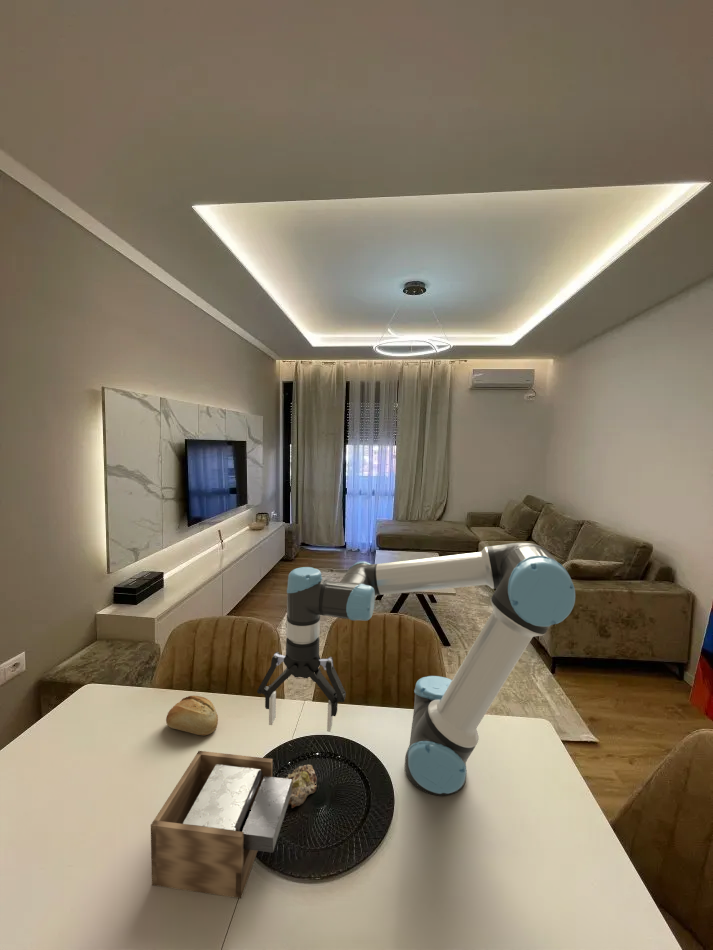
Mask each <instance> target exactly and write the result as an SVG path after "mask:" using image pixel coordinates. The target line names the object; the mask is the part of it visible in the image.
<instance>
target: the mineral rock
mask: <svg viewBox="0 0 713 950" xmlns="http://www.w3.org/2000/svg"><path fill="white" fill-rule="evenodd" d="M284 778H285V779H292V793H291V796H290V799H289V802H288V806H290V807H291V809H294V808H295V807H299V806H302V804H304V802H306V799H307V797H308V796H309V795H311V794H314V793H315V792H316V791H317V787H318V786H317V780H318V778H317V774H316V771H315V770H314V767H313V765H312V764H304V765H300V766H298V767H296V768H295V769H293V771H292V773H288V774H287V777H284ZM315 784H316V785H315Z"/></svg>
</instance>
